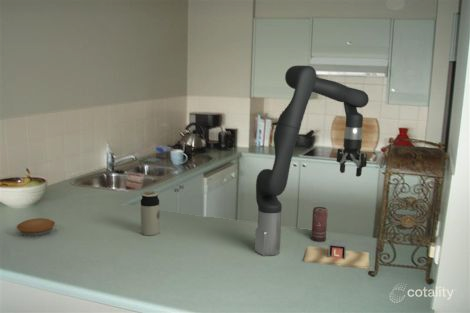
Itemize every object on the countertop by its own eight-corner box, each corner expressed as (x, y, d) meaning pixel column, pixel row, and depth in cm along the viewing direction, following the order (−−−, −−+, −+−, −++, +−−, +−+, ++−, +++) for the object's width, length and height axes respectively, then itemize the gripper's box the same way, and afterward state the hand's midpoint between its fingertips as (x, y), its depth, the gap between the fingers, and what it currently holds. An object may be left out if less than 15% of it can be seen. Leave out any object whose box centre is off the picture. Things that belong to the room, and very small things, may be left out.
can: (326, 242, 204) (328, 210, 201) (311, 241, 205) (312, 209, 202) (326, 237, 210) (328, 206, 207) (311, 236, 211) (313, 205, 208)
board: (303, 261, 184) (304, 259, 183) (307, 248, 197) (307, 246, 197) (369, 269, 178) (369, 266, 178) (368, 255, 191) (368, 252, 191)
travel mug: (137, 234, 210) (136, 194, 207) (147, 228, 217) (147, 190, 214) (153, 236, 207) (152, 196, 204) (163, 231, 214) (162, 192, 211)
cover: (328, 257, 185) (328, 244, 184) (329, 252, 191) (329, 238, 190) (345, 259, 184) (346, 245, 183) (345, 253, 189) (346, 240, 188)
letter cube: (331, 257, 185) (332, 247, 185) (332, 253, 189) (332, 243, 189) (342, 258, 184) (342, 248, 184) (342, 254, 188) (343, 244, 188)
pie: (55, 236, 206) (55, 225, 205) (16, 240, 200) (15, 229, 199) (55, 225, 220) (54, 214, 219) (17, 229, 215) (17, 218, 214)
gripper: (334, 135, 209) (331, 172, 212) (361, 140, 198) (358, 178, 201) (345, 134, 214) (343, 170, 217) (372, 139, 203) (369, 176, 206)
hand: (350, 174), depth 209 cm, fingers open, 8 cm apart
